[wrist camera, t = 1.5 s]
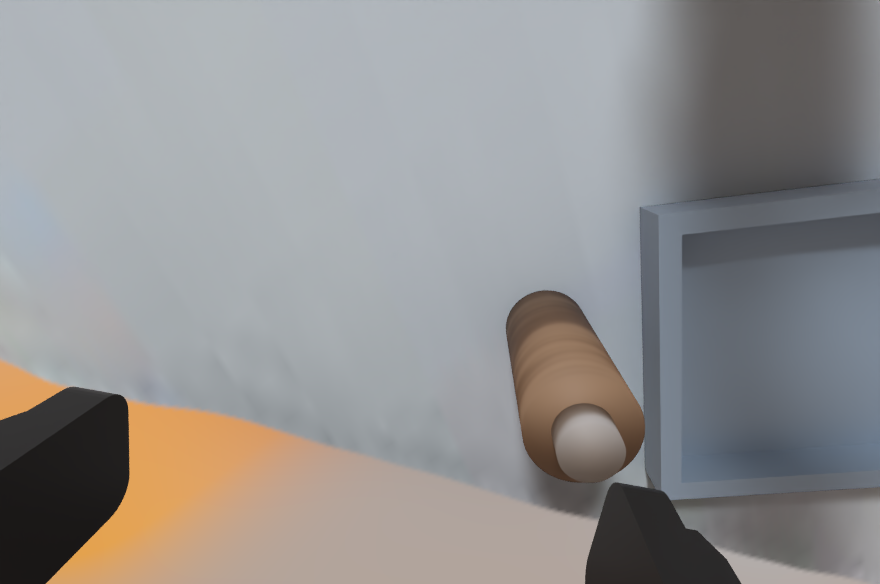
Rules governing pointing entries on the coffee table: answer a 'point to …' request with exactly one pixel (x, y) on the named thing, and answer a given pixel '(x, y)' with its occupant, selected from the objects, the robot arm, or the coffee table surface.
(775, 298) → the bin
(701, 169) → the coffee table surface
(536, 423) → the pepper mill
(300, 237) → the coffee table surface
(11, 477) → the robot arm
